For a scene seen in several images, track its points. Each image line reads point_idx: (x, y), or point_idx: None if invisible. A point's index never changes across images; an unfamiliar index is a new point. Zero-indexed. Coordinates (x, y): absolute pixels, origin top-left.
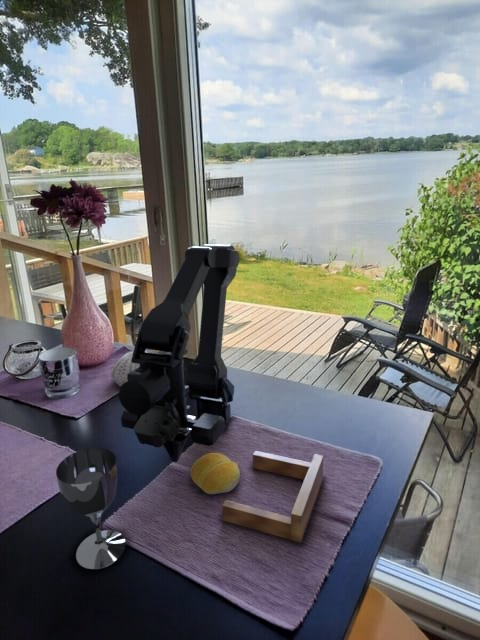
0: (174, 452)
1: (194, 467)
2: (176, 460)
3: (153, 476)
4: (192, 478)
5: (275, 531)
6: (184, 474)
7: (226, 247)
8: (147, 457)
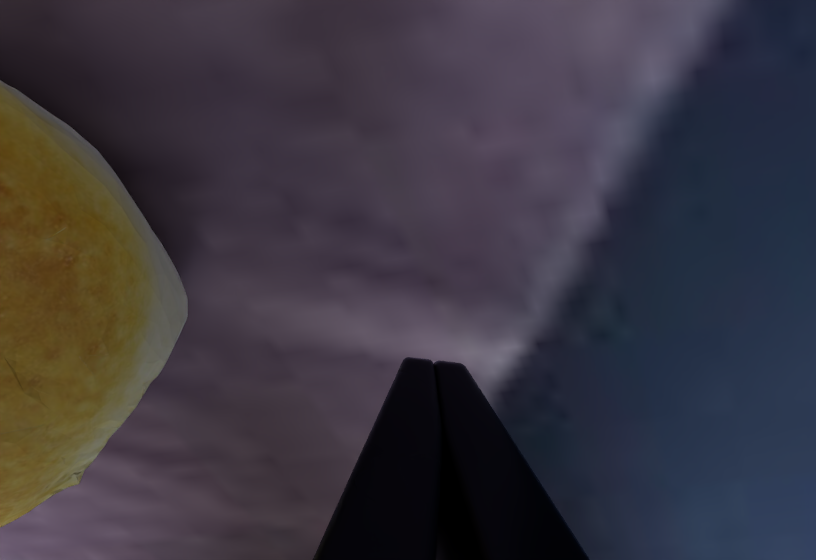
0: (398, 519)
1: (13, 300)
2: (393, 383)
3: (680, 145)
4: (25, 127)
5: None
6: (300, 240)
7: None
8: (781, 387)
